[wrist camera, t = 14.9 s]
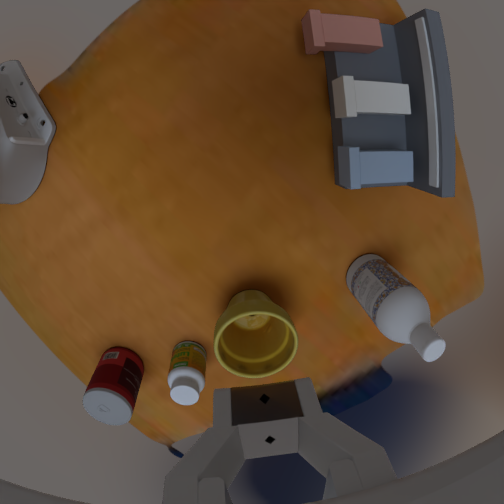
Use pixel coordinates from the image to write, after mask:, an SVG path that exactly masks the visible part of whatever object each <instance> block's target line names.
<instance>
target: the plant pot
mask: <svg viewBox="0 0 504 504" xmlns="http://www.w3.org/2000/svg"><path fill="white" fill-rule="evenodd" d="M297 348H298V335H297V332H296V329H295V326H294V324H293V322H292V320H291V318H290V316H289V315H288V313H287V312H286V311H285V310H284V309H283V308H281V307H280V306H279V305H277V304H275V303H273V302H272V301H271V299H270V298H269V297H268V296H267V295H266V294H265V293H263V292H261V291H258V290H245V291H242V292H240V293H238V294H236V295H235V296H234V297H233V298H232V299H231V301H230V302H229V304H228V307H227V309H226V311H224V312H223V314H222V315H221V316H220V318H219V319H218V321H217V323H216V326H215V331H214V352H215V355H216V358H217V360H218V361H219V363H220V364H221V365H222V366H223V367H224V368H225V369H226V370H228V371H229V372H231V373H233V374H235V375H238V376H241V377H247V378H260V377H266V376H269V375H272V374H275V373H277V372H279V371H280V370H282V369H283V368H285V367H286V366H287V365H288V364H289V363H290V362H291V360H292V359H293V358H294V356H295V354H296V351H297Z"/></svg>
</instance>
